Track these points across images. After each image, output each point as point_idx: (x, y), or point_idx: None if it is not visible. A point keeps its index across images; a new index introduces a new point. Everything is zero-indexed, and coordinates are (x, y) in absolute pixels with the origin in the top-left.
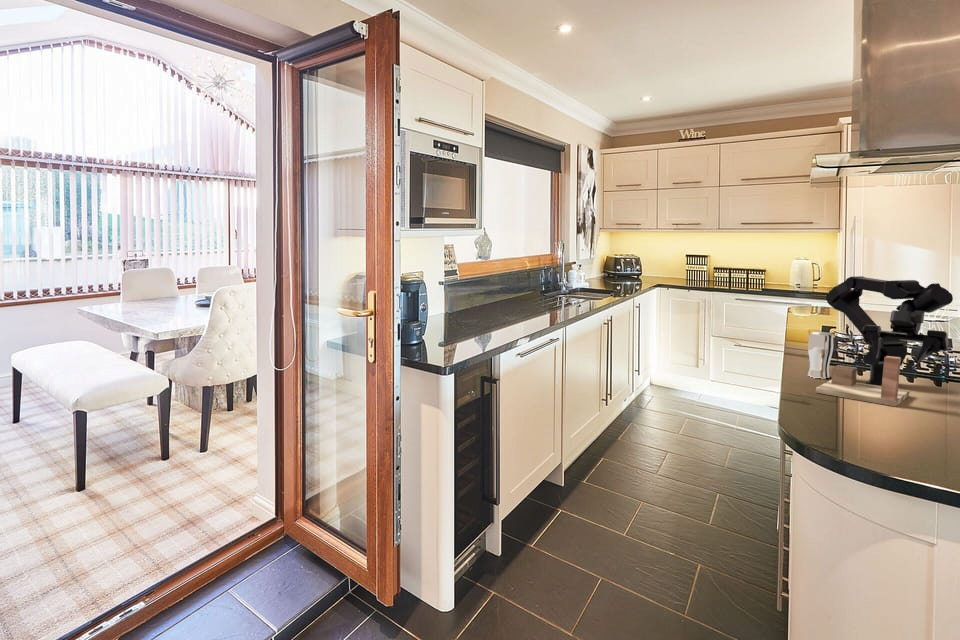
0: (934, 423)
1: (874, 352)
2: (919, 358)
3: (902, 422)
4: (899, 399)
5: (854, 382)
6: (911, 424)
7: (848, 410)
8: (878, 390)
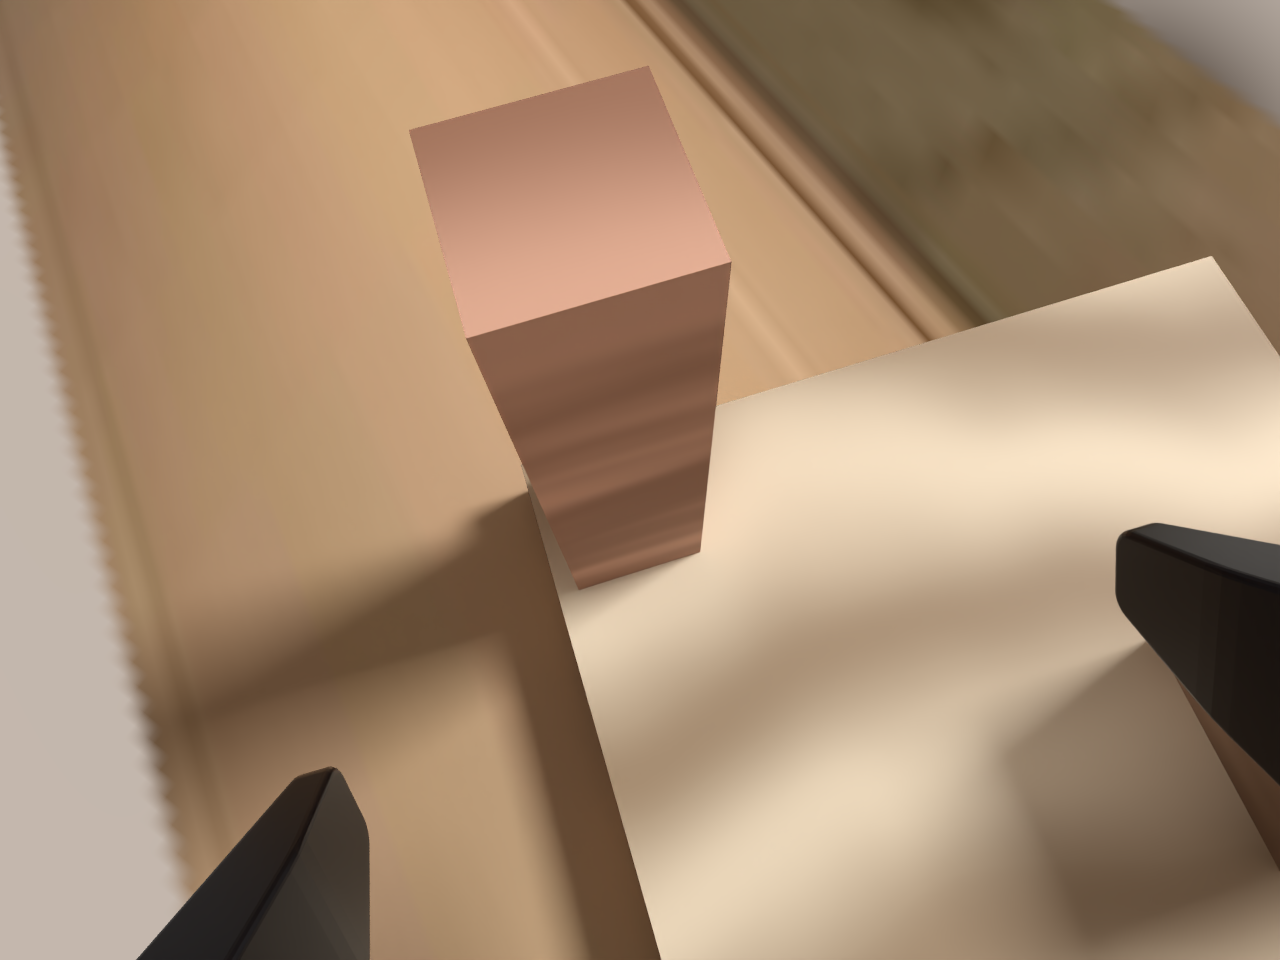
0: (152, 310)
1: (1272, 548)
2: (243, 840)
3: (302, 147)
4: (560, 601)
5: (1259, 796)
6: (246, 156)
7: (661, 89)
8: (891, 757)
